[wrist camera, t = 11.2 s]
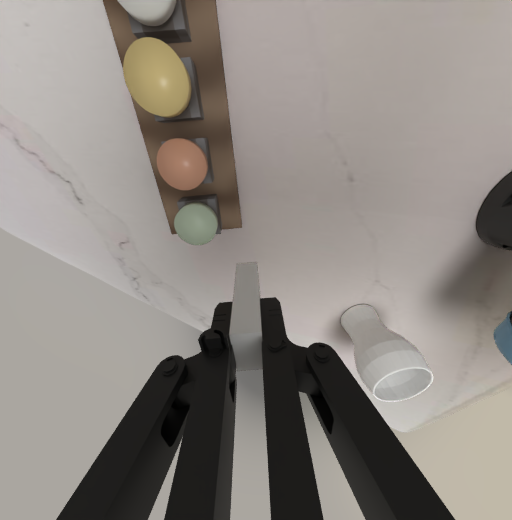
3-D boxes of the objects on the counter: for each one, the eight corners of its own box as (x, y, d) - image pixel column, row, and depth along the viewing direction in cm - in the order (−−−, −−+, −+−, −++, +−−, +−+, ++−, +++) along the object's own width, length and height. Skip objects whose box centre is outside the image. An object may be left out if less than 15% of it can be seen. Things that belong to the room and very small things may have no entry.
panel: (102, -22, 21) (71, -58, 17) (212, -30, 21) (205, -68, 17) (174, 230, 35) (166, 242, 31) (241, 224, 35) (241, 234, 31)
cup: (329, 334, 49) (361, 405, 36) (340, 298, 44) (381, 365, 31) (373, 333, 50) (420, 402, 37) (389, 298, 45) (450, 363, 32)
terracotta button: (165, 140, 26) (149, 140, 22) (207, 136, 27) (200, 136, 22) (176, 184, 29) (164, 192, 24) (214, 180, 29) (209, 188, 24)
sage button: (180, 197, 30) (169, 207, 25) (217, 194, 30) (212, 203, 25) (188, 231, 32) (180, 246, 28) (222, 228, 33) (219, 243, 28)
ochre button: (140, 61, 21) (113, 39, 17) (191, 57, 22) (178, 34, 17) (156, 122, 24) (136, 118, 19) (202, 118, 24) (193, 113, 19)
